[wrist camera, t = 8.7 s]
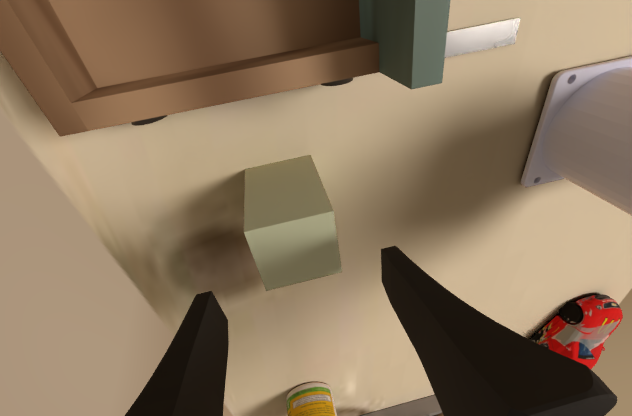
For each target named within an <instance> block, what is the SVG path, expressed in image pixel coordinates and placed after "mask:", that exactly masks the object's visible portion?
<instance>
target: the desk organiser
mask: <svg viewBox="0 0 632 416" xmlns="http://www.w3.org/2000/svg"><path fill="white" fill-rule="evenodd" d="M440 413H442V410H441V408H440V405H439V403H438V401H437V398H436V396H435V395H433V396H429V397H425V398H422V399H418V400H415V401H411V402H408V403H404V404H400V405H397V406H393V407H390V408H386V409H383V410H379V411H376V412H372V413H368V414H365V415H361V416H433V415H437V414H440Z"/></svg>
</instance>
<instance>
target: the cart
mask: <svg viewBox="0 0 632 416" xmlns="http://www.w3.org/2000/svg"><path fill="white" fill-rule="evenodd" d="M449 8H450V0H0V51H1V52H2V54H3V55H4V56H5V58H6V59H7V61H8V62H9V64H10V65H11V67H12V68H13V69H14V71H15V72H16V74H17V75H18V77H19V78H20V80H21V81H22V82H23V84H24V85H25V87H26V88H27V90H28V91H29V93H30V94H31V96H32V97H33V98H34V100H35V101H36V103H37V104H38V106H39V107H40V109H41V110H42V111H43V113H44V114H45V116H46V117H47V119H48V120H49V122H50V123H51V124H52V126H53V127H54V129H55V130H56V132H57V133H58V135H59V136H65V135H70V134H75V133H80V132H85V131H90V130H95V129H100V128H105V127H110V126H115V125H120V124H125V123H130V122H131V123H132V125H145V124H149V123H153V122H156V121H158V120H161V119H163V118H165V117H166V116H167V115H169V114H174V113H179V112H184V111H189V110H194V109H199V108H204V107H209V106H214V105H219V104H224V103H229V102H234V101H239V100H244V99H249V98H254V97H259V96H263V95H268V94H273V93H278V92H283V91H288V90H293V89H298V88H303V87H308V86H313V85H318V84H321V85H324V86H336V85H342V84H346V83H349V82H351V81H352V80H353V77H358V76H363V75H368V74H372V73H377V72H380V73H382V74H384V75H386V76H388V77H389V78H391V79H393V80H395V81H397V82H399V83H401V84H403V85H404V86H406V87H408V88H410V89H415V88H420V87H425V86H430V85H435V84H440V83H442V78H443V68H444V58H445V48H446V38H447V28H448V18H449Z"/></svg>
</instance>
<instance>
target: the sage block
mask: <svg viewBox="0 0 632 416" xmlns="http://www.w3.org/2000/svg"><path fill="white" fill-rule="evenodd" d="M244 234H245V237H246V239H247V242H248V245H249V247H250V250H251V252H252V255H253V258H254V260H255V263H256V265H257V268H258V271H259V273H260V276H261V278H262V281H263V284H264V286H265V289H266V291H268V290H272V289H276V288H280V287H284V286H288V285H292V284H296V283H300V282H304V281H308V280H312V279H316V278H320V277H324V276H328V275H332V274H336V273H340V272H342V268H341V261H340V254H339V247H338V240H337V233H336V225H335V218H334V211H333V209H332V206H331V204H330V201H329V199H328V196H327V194H326V192H325V189H324V187H323V184H322V182H321V179H320V177H319V174H318V172H317V170H316V167H315V165H314V162H313V160H312V157H311V155H307V156H303V157H298V158H294V159H289V160H284V161H280V162H275V163H271V164H266V165H262V166H257V167H253V168H248V169H245V192H244Z"/></svg>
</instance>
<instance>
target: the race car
mask: <svg viewBox="0 0 632 416" xmlns="http://www.w3.org/2000/svg"><path fill="white" fill-rule="evenodd" d="M576 302H577V303H575V302H567V303H566V304H565V305H564V306H563V307H562V308H560V309H559V313H560V315H561V316H558V315H557V316H556V317H555V318H553V319H552V320H551V321H550V322H549V323H548V324H547V325H546V326H545V327H544V328H542V329H541V330H540V331H539V332H538V333H537V334H536V335H535V336H534V337H532V338H531V339H530V340H531V341H533V342H535V343H537V344H539V345H541V346H543V347H545V348H547V349H550V350H552V351H554V352H556V353H559V354H561V355H563V356H566V357H568V358H570V359H573V360H575V361H577V362H580V363H582V364H584V365H586V366H588V367H589V368H590V369H591V368H592V367H593V366H594V365H595V364H596V363H597V361H598V359H599V357H600V354H601V351H602V350H603V351H604V350H605V348H604V347H603V344H604V341H605V340H606V339H607V338H608V337H609V336H610V335H611V333H612V332H613V331H614V330H615V329H616V328H617V327H618V325H619V324H620V322H621V320H622V318H623V315H622V310H621V308H620V307H619V305H618V304H617V302H616V301H615V300H613V299H612V298H610V297H609V296H607V295H593V296H589V297H585V298H583V299H580V300H578V301H576Z"/></svg>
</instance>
